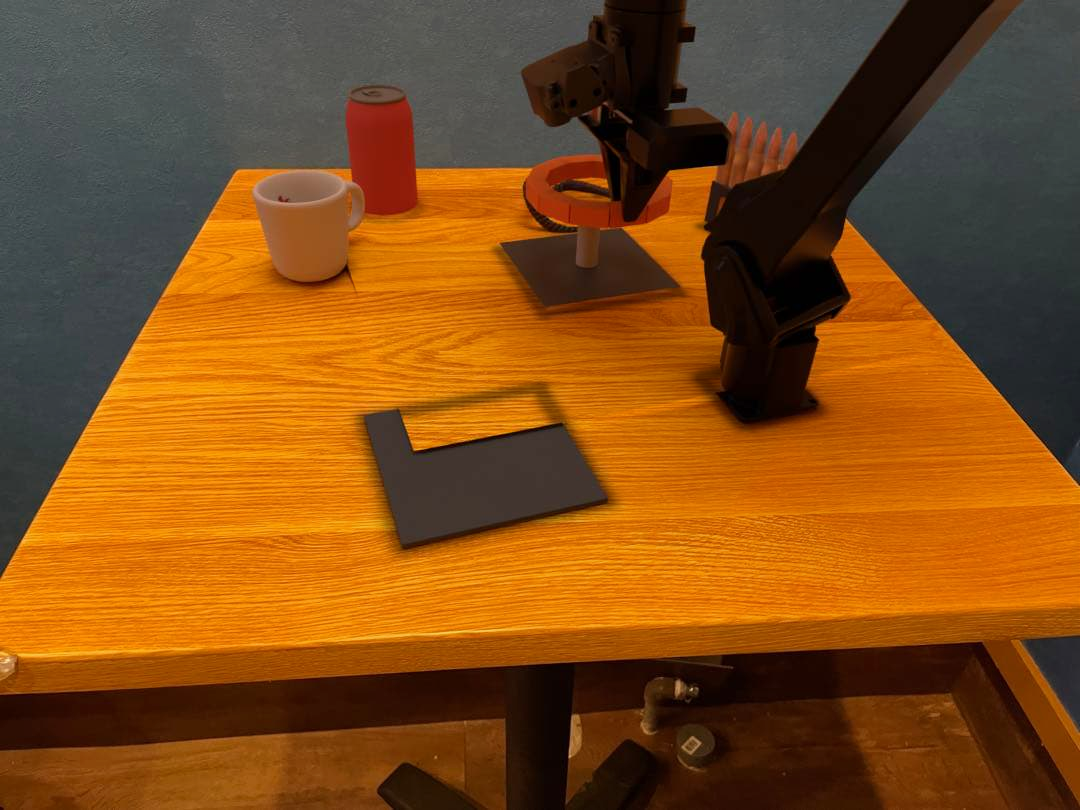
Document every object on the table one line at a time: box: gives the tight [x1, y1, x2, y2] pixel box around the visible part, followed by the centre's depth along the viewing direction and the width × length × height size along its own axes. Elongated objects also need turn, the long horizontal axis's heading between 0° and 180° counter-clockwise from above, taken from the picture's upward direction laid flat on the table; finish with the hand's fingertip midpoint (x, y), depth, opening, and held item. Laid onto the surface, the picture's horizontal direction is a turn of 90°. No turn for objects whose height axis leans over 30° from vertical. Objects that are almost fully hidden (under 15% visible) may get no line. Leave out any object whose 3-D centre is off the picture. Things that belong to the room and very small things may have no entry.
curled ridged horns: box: [522, 176, 611, 234], centre depth 85 cm, size 13×5×10 cm
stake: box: [499, 225, 682, 308], centre depth 75 cm, size 13×13×6 cm
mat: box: [363, 408, 609, 550], centre depth 54 cm, size 13×13×1 cm
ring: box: [525, 154, 674, 229], centre depth 70 cm, size 12×12×2 cm
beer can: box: [344, 84, 419, 216], centre depth 83 cm, size 7×7×12 cm
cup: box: [251, 169, 365, 283], centre depth 74 cm, size 11×8×8 cm
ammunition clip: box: [703, 110, 798, 223], centre depth 79 cm, size 11×2×12 cm, turn 37°
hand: (624, 216), depth 66 cm, fingers closed on ring, 2 cm apart
